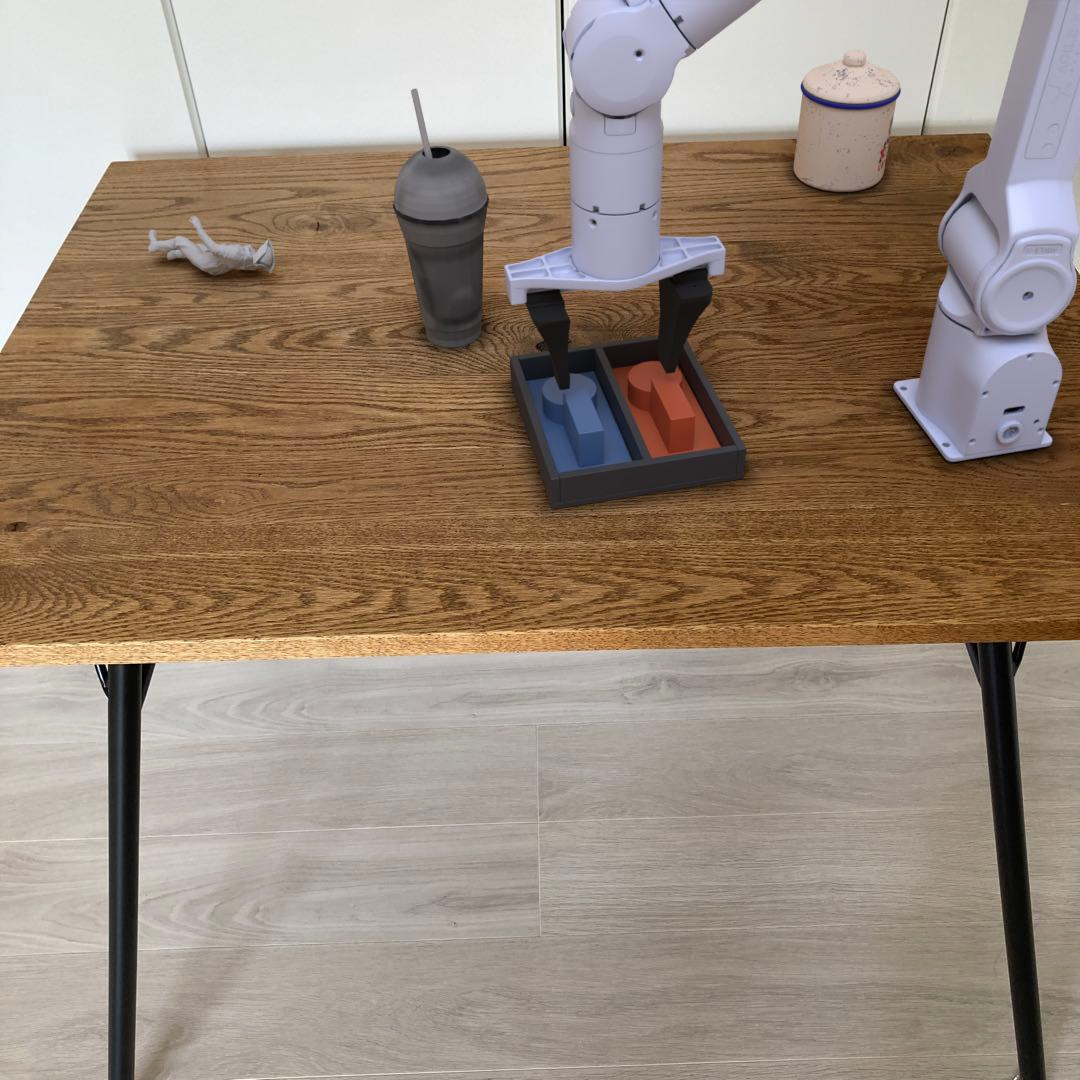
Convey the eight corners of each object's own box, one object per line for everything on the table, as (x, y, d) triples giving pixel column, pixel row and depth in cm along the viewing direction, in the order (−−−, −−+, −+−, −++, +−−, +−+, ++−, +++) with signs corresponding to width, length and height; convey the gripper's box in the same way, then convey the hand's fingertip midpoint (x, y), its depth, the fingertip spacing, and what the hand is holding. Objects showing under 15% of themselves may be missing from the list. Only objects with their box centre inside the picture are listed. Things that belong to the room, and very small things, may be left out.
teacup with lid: (899, 190, 112) (921, 67, 105) (805, 198, 112) (821, 75, 104) (858, 137, 121) (876, 20, 113) (771, 145, 121) (784, 27, 113)
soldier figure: (197, 250, 110) (300, 228, 105) (195, 300, 110) (299, 281, 104) (134, 222, 103) (241, 197, 98) (132, 276, 103) (239, 254, 97)
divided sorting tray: (743, 479, 82) (746, 448, 80) (552, 509, 80) (551, 479, 78) (680, 360, 93) (682, 331, 91) (511, 385, 91) (509, 355, 89)
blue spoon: (619, 461, 83) (619, 427, 81) (563, 470, 82) (562, 436, 80) (589, 389, 89) (589, 356, 87) (537, 397, 89) (536, 363, 87)
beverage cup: (486, 361, 94) (467, 114, 80) (398, 353, 95) (365, 108, 81) (506, 312, 99) (492, 72, 85) (422, 305, 100) (395, 68, 86)
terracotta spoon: (708, 447, 84) (711, 413, 81) (653, 456, 83) (655, 422, 81) (672, 377, 90) (674, 343, 88) (621, 384, 89) (622, 351, 87)
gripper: (706, 153, 78) (695, 328, 87) (491, 181, 76) (503, 357, 85) (742, 201, 73) (726, 382, 82) (512, 232, 71) (522, 414, 80)
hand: (614, 373), depth 83 cm, fingers open, 7 cm apart
